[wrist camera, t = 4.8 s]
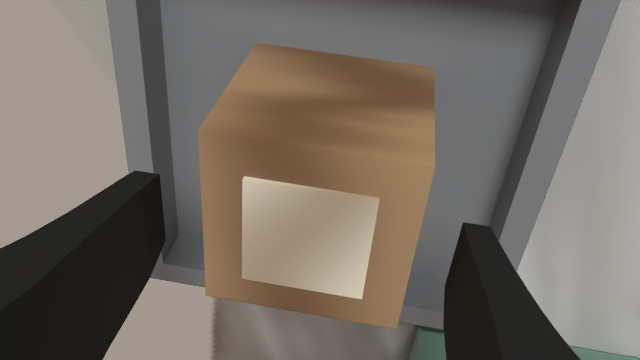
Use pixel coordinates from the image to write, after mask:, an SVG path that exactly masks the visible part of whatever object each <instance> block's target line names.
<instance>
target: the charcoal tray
mask: <svg viewBox="0 0 640 360" xmlns="http://www.w3.org/2000/svg"><path fill="white" fill-rule="evenodd" d="M620 1H621V0H106V6H107V13H108V21H109V28H110V36H111V43H112V51H113V58H114V66H115V73H116V81H117V88H118V96H119V103H120V111H121V118H122V126H123V133H124V141H125V148H126V156H127V163H128V170H129V174H130V173H132V172H133V171H135V170H136V171H143V172H149V173H155V174H160V183H161V193H162V204H163V214H164V225H165V235H166V240H165V243H164V245H163V248H162V250H161V253H160V256H159V258H158V260H157V263H156V265H155V267H154V270H153V272H152V274H151V276H150V278H155V279H161V280H166V281H172V282H178V283H183V284H189V285H195V286H201V287H205V266H204V244H203V223H202V202H201V180H200V159H199V137H198V130H199V128H200V127H201V125H202V124H203V122H204V121H205V119H206V118H207V116H208V115H209V113H210V112H211V110H212V109H213V107H214V106H215V104H216V103H217V101H218V100H219V98H220V97H221V95H222V94H223V92H224V90H225V89H226V87H227V86H228V84H229V83H230V81H231V80H232V78H233V77H234V75H235V74H236V72H237V71H238V69H239V68H240V66H241V65H242V63H243V62H244V60H245V59H246V57H247V56H248V54H249V53H250V51H251V50H252V48H253V47H254V45H255V44H256V43H263V44H270V45H277V46H284V47H291V48H298V49H305V50H313V51H320V52H327V53H334V54H341V55H348V56H355V57H363V58H370V59H377V60H384V61H391V62H398V63H405V64H412V65H420V66H427V67H434V86H435V170H434V174H433V179H432V183H431V187H430V191H429V195H428V200H427V204H426V208H425V212H424V217H423V221H422V225H421V229H420V233H419V238H418V242H417V246H416V250H415V254H414V259H413V263H412V267H411V271H410V275H409V280H408V284H407V288H406V292H405V296H404V301H403V305H402V309H401V313H400V318H399V322H404V323H410V324H415V325H421V326H427V327H432V328H438V329H444V327H443V318H444V290H445V283H446V280H447V276H448V273H449V269H450V266H451V262H452V259H453V255H454V252H455V248H456V245H457V242H458V238H459V235H460V231H461V228H462V224H463V222H466V223H472V224H478V225H485V226H490V227H491V228H492V230H493V231H494V233H495V235H496V237H497V238H498V240H499V242H500V244H501V246H502V248H503V249H504V251H505V253H506V255H507V256H508V258H509V260H510V262H511V263H512V265H513V267H514V268H515V270H516V272H517V269H518V266H519V264H520V261H521V259H522V256H523V253H524V251H525V248H526V246H527V243H528V240H529V238H530V235H531V233H532V230H533V227H534V225H535V222H536V219H537V217H538V214H539V212H540V209H541V206H542V204H543V201H544V199H545V196H546V193H547V191H548V188H549V186H550V183H551V180H552V178H553V175H554V173H555V170H556V167H557V165H558V162H559V160H560V157H561V154H562V152H563V149H564V147H565V144H566V141H567V139H568V136H569V134H570V131H571V128H572V126H573V123H574V121H575V118H576V115H577V113H578V110H579V108H580V105H581V102H582V100H583V97H584V95H585V92H586V89H587V87H588V84H589V82H590V79H591V76H592V74H593V71H594V69H595V66H596V63H597V61H598V58H599V56H600V53H601V50H602V48H603V45H604V43H605V40H606V37H607V35H608V32H609V30H610V27H611V24H612V22H613V19H614V16H615V14H616V11H617V9H618V6H619V3H620Z"/></svg>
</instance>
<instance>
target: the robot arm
mask: <svg viewBox="0 0 640 360" xmlns="http://www.w3.org/2000/svg"><path fill="white" fill-rule="evenodd" d="M165 240H166V235H165V225H164V214H163V204H162V193H161V183H160V174H155V173H149V172H143V171H136V170H135V171H133V172H132V173H130V174H128V175H126V176H125V177H123V178H122V179H120V180H118V181H117V182H115V183H114V184H112V185H111V186H109V187H108V188H106V189H104V190H103V191H101V192H100V193H98V194H97V195H95V196H93V197H92V198H90V199H89V200H87V201H85V202H84V203H82V204H81V205H79V206H77V207H76V208H74V209H73V210H71V211H70V212H68V213H66V214H64V215H63V216H61V217H59V218H57V219H55V220H54V221H52V222H50V223H48V224H47V225H45V226H43V227H42V228H40V229H38V230H36V231H34V232H32V233H31V234H29V235H27V236H25V237H23V238H21V239H19V240H17V241H15V242H13V243H11V244H9V245H7V246H5V247H3V248H0V360H102V359H103V358H104V356H105V354H106V352H107V350H108V348H109V347H110V345H111V343H112V342H113V340H114V338H115V336H116V335H117V333H118V331H119V330H120V328H121V326H122V324H123V323H124V321H125V319H126V318H127V316H128V314H129V313H130V311H131V309H132V308H133V306H134V304H135V302H136V301H137V299H138V297H139V295H140V294H141V292H142V290H143V289H144V287H145V285H146V283H147V282H148V280H149V278H150V276H151V274H152V272H153V270H154V267H155V265H156V263H157V260H158V258H159V256H160V253H161V250H162V248H163V245H164V243H165ZM443 327H444V339H445V350H446V360H581V359H580V358H579V357H578V356H577V355H576V354H575V352H574V351H573V350H572V349H571V348H570V347H569V345H568V344H567V343H566V342H565V341H564V340H563V338H562V337H561V336H560V334H559V333H558V332H557V331H556V329H555V328H554V327H553V325H552V324H551V323H550V321H549V320H548V318H547V317H546V316H545V314H544V313H543V312H542V310H541V309H540V307H539V306H538V304H537V303H536V301H535V300H534V298H533V297H532V295H531V294H530V292H529V291H528V289H527V288H526V286H525V285H524V283H523V281H522V280H521V278H520V277H519V275H518V273H517V272H516V270H515V268H514V267H513V265H512V263H511V262H510V260H509V258H508V256H507V255H506V253H505V251H504V249H503V248H502V246H501V244H500V242H499V240H498V238H497V237H496V235H495V233H494V231H493V230H492V228H491V227H490V226H485V225H478V224H472V223H466V222H463V224H462V228H461V231H460V235H459V238H458V242H457V245H456V248H455V252H454V255H453V259H452V262H451V266H450V269H449V273H448V276H447V280H446V283H445V290H444V318H443Z"/></svg>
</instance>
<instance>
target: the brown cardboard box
mask: <svg viewBox="0 0 640 360" xmlns="http://www.w3.org/2000/svg"><path fill="white" fill-rule="evenodd" d="M198 137H199V159H200V180H201V202H202V223H203V244H204V266H205V287H206V295H207V296H212V297H218V298H223V299H229V300H234V301H240V302H246V303H251V304H257V305H263V306H268V307H274V308H279V309H285V310H291V311H296V312H302V313H308V314H313V315H319V316H324V317H330V318H336V319H341V320H347V321H352V322H358V323H364V324H369V325H375V326H381V327H386V328H392V329H397V326H398V322H399V318H400V313H401V309H402V305H403V301H404V296H405V292H406V288H407V284H408V280H409V275H410V271H411V267H412V263H413V259H414V254H415V250H416V246H417V242H418V238H419V233H420V229H421V225H422V221H423V217H424V212H425V208H426V204H427V200H428V195H429V191H430V187H431V183H432V179H433V174H434V170H435V86H434V67H427V66H420V65H412V64H405V63H398V62H391V61H384V60H377V59H370V58H363V57H355V56H348V55H341V54H334V53H327V52H320V51H313V50H305V49H298V48H291V47H284V46H277V45H270V44H263V43H256V44H255V45H254V47H253V48H252V50H251V51H250V53H249V54H248V56H247V57H246V59H245V60H244V62H243V63H242V65H241V66H240V68H239V69H238V71H237V72H236V74H235V75H234V77H233V78H232V80H231V81H230V83H229V84H228V86H227V87H226V89H225V90H224V92H223V94H222V95H221V97H220V98H219V100H218V101H217V103H216V104H215V106H214V107H213V109H212V110H211V112H210V113H209V115H208V116H207V118H206V119H205V121H204V122H203V124H202V125H201V127H200V128H199V130H198Z"/></svg>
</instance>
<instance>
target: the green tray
mask: <svg viewBox="0 0 640 360" xmlns="http://www.w3.org/2000/svg"><path fill="white" fill-rule="evenodd" d="M569 347H570V348H571V349H572V350H573V351H574V352H575V354H576V355H577V356H578V357H579V358H580V359H581V360H640V359H639V358H634V357H628V356H622V355H617V354H611V353H605V352H600V351H594V350H588V349H582V348H577V347H571V346H569ZM408 360H446V350H445V339H444V329H438V328H432V327H427V326H421V325H417V329H416V332H415V336H414V340H413V344H412V347H411V351H410V355H409V359H408Z"/></svg>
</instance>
